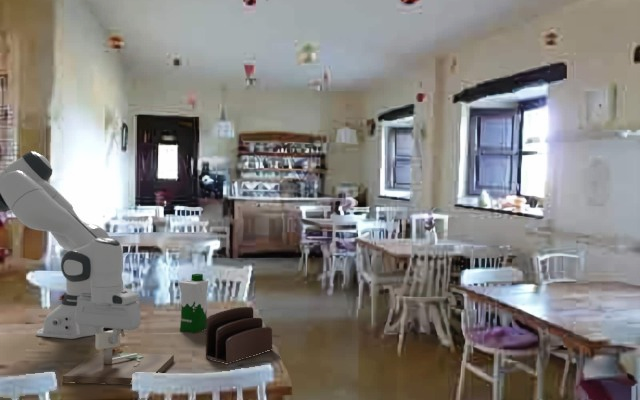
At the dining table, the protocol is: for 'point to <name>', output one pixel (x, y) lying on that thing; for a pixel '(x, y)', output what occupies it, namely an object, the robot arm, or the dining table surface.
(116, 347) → the grandmother figurine
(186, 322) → the milk carton
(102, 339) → the grey piece
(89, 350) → the dining table surface
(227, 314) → the letter holder
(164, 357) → the wooden cutting board
